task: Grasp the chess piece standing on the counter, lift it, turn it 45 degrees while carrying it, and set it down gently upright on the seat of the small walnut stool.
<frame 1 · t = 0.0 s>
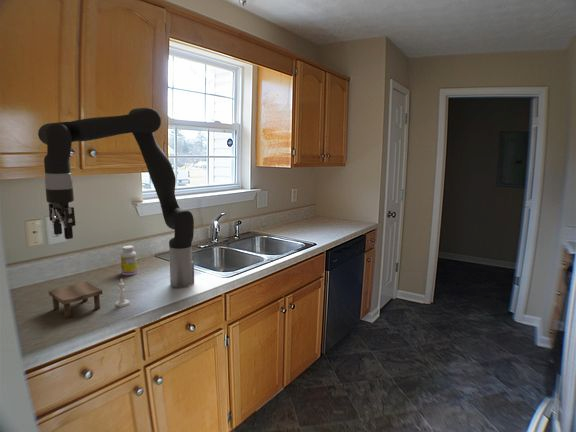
hand: (63, 236, 122), 29 cm above the worktop, tool pointing down, fingers open, 8 cm apart
chess piece: (122, 304, 141), on the worktop
walnut stool: (77, 308, 136), on the worktop
supplement bottle: (129, 273, 174), on the worktop
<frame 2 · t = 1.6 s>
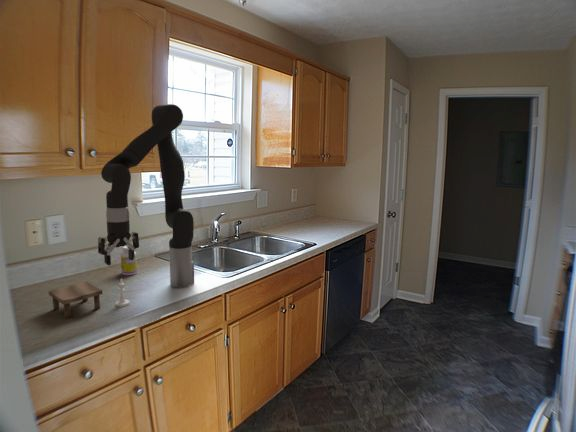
hand: (120, 262, 138), 16 cm above the worktop, tool pointing down, fingers open, 8 cm apart
nothing on the worktop moved.
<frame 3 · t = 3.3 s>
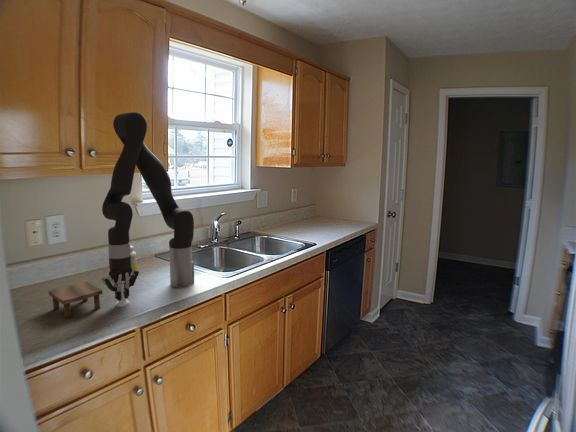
hand: (122, 298, 141), 2 cm above the worktop, tool pointing down, fingers closed on chess piece, 2 cm apart
chess piece: (122, 304, 141), on the worktop, touching gripper
everything else where it was.
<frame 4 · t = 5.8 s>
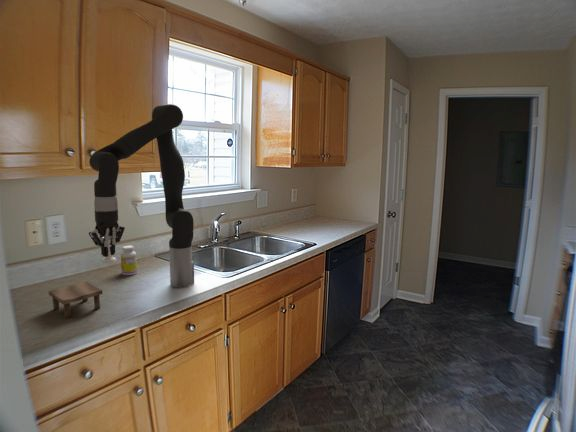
hand: (108, 255, 136), 19 cm above the worktop, tool pointing down, fingers closed on chess piece
chess piece: (108, 261, 136), point 17 cm above the worktop, touching gripper
everything else where it was.
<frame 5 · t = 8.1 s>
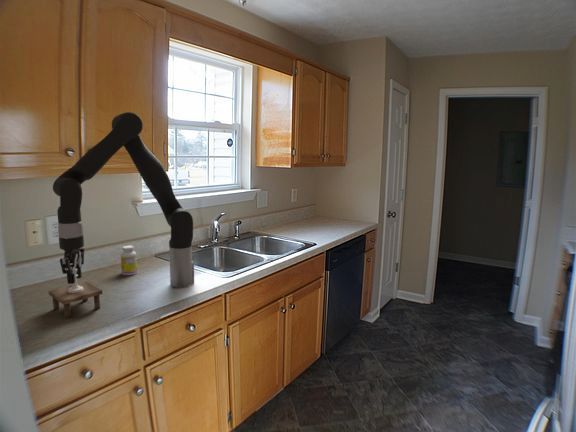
hand: (74, 280, 134), 11 cm above the worktop, tool pointing down, fingers open, 4 cm apart
chess piece: (75, 291, 135), point 7 cm above the worktop, touching walnut stool
everything else where it was.
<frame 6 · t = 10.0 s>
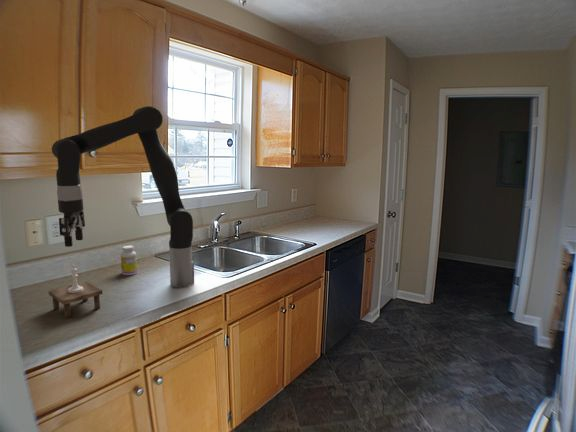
hand: (74, 243, 133), 24 cm above the worktop, tool pointing down, fingers open, 8 cm apart
nothing on the worktop moved.
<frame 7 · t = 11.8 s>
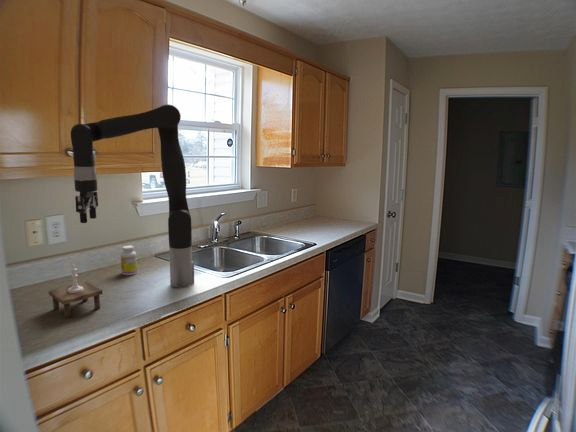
hand: (88, 220, 144), 30 cm above the worktop, tool pointing down, fingers open, 8 cm apart
nothing on the worktop moved.
at the end: chess piece inside the target area (0.1 cm from its centre), point 6.8 cm above the worktop; chess piece tilted 0°; the gripper is holding nothing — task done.
